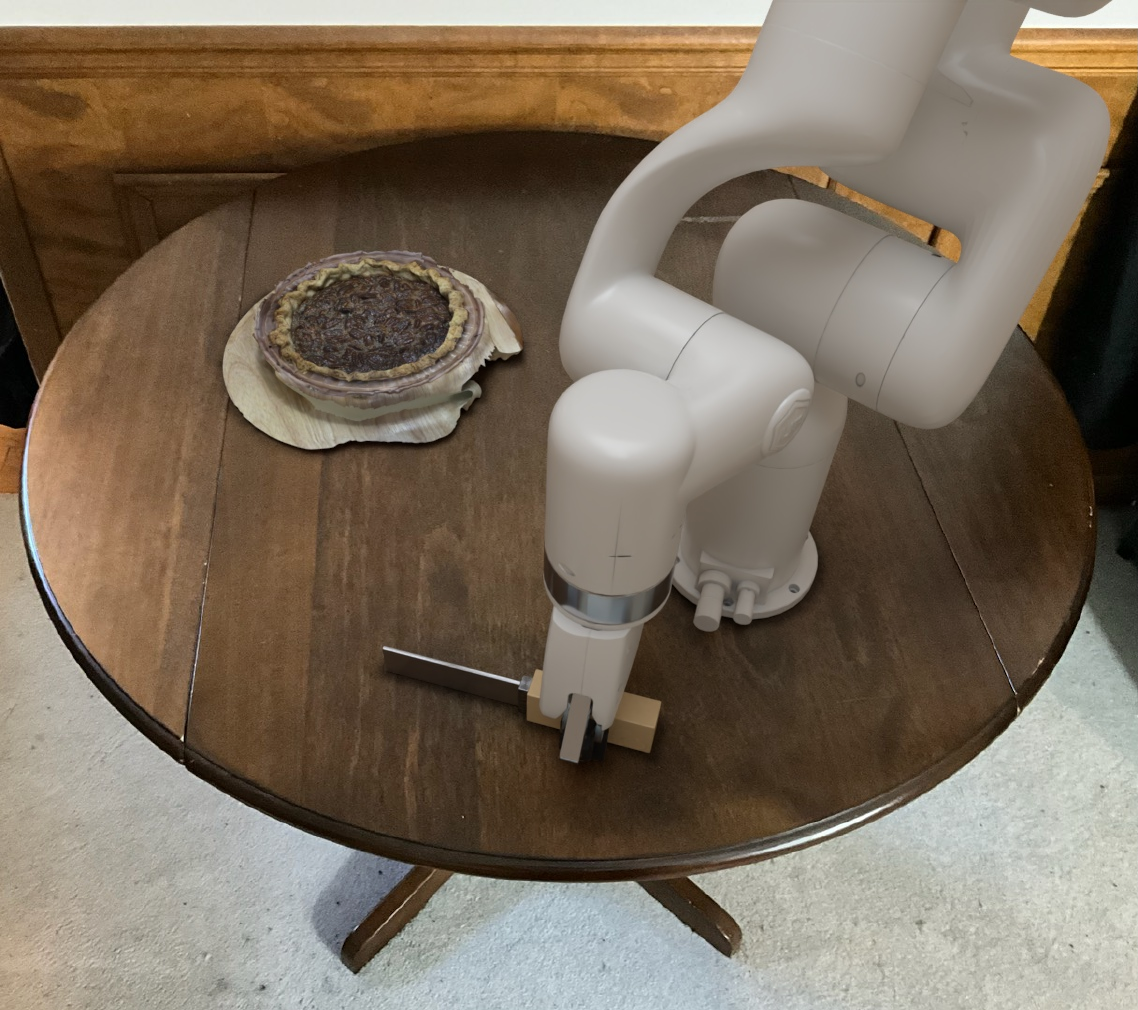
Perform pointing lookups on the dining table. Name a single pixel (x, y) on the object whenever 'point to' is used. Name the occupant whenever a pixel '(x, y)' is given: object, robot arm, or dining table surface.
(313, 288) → the pie
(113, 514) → the dining table surface
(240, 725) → the dining table surface
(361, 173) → the dining table surface
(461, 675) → the knife
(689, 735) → the dining table surface
